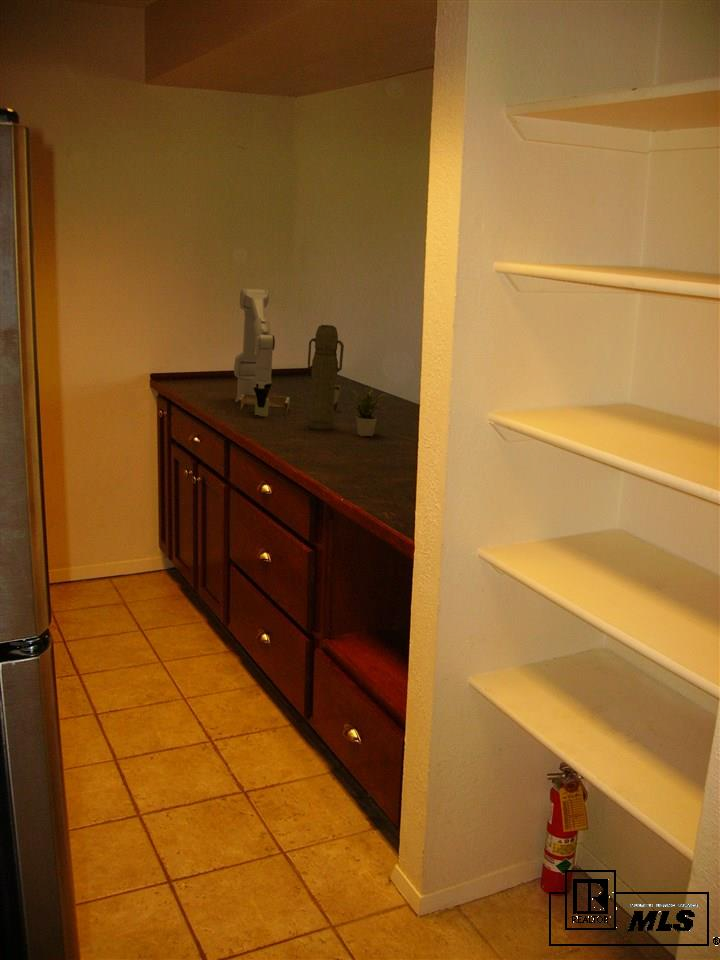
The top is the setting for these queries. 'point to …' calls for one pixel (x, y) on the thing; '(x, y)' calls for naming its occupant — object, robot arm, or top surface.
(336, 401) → the food container
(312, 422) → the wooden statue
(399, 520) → the top surface
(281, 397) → the open crate
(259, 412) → the sage block
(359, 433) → the house plant
